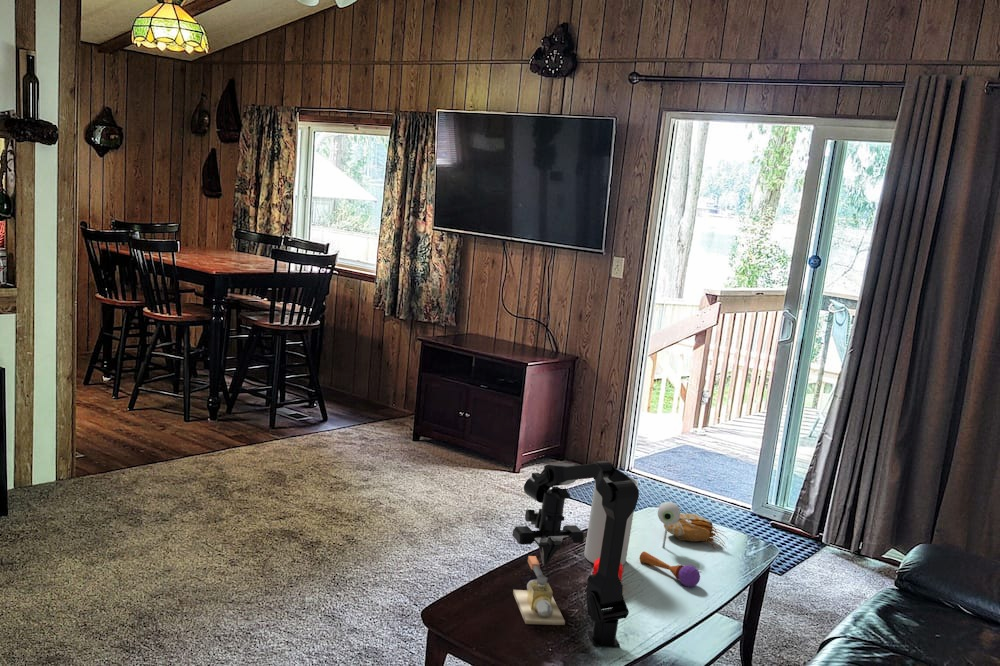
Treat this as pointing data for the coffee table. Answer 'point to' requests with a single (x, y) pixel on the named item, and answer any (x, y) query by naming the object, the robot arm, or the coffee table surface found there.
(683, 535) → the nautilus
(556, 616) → the valve board
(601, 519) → the cylinder vase
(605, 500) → the robot arm
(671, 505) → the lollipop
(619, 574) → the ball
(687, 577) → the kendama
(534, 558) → the valve lever
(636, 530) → the coffee table surface
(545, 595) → the valve
